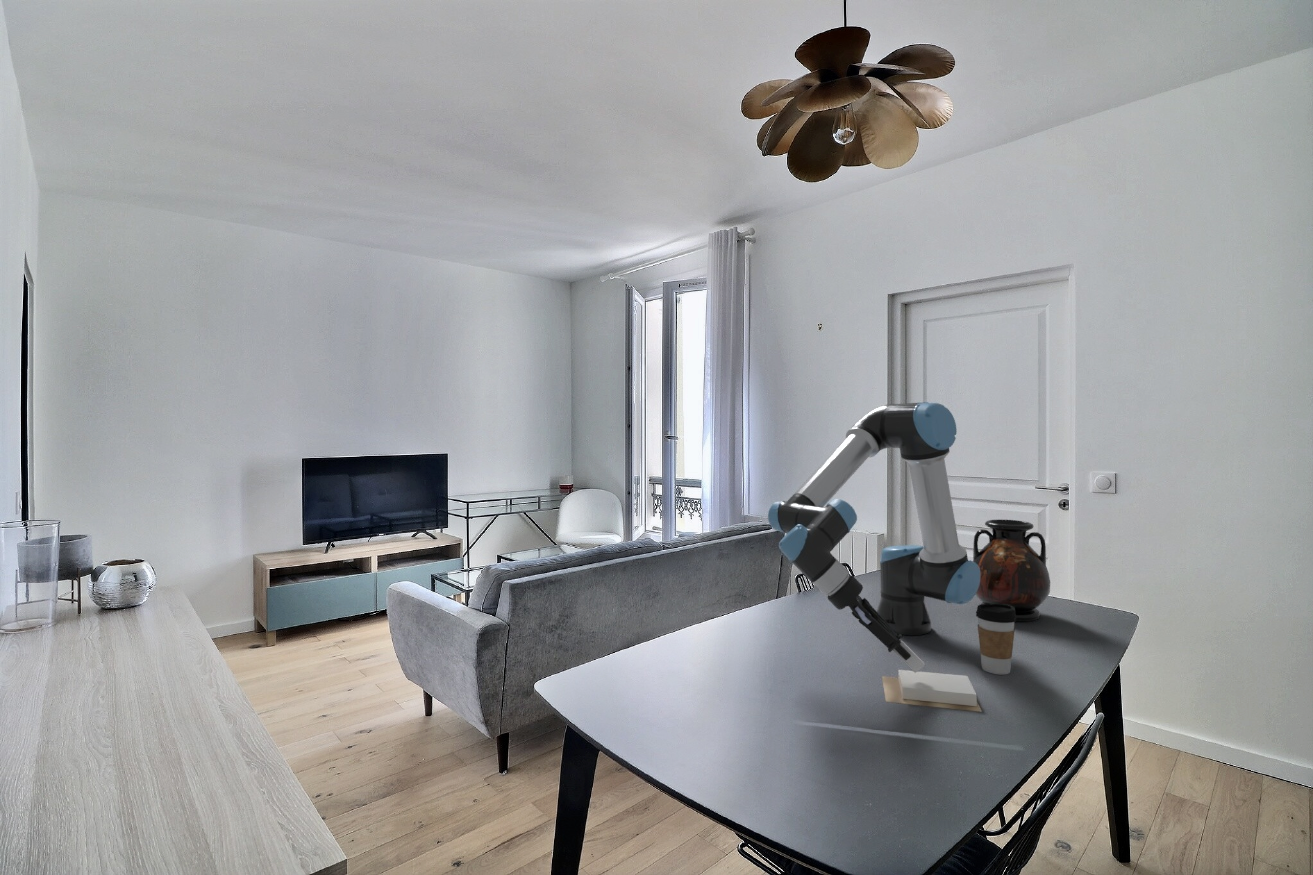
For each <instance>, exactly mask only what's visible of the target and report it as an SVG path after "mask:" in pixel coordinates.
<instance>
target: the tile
mask: <svg viewBox="0 0 1313 875" xmlns="http://www.w3.org/2000/svg"><path fill="white" fill-rule="evenodd" d="M897 672H898V677H897V678H898V680H899V685H900V690H901V694H902V699H910V700H920V701H929V702H939V703H949V704H959V705H968V706H977V702H978V699H977V695H978V694H977V693H976V690H975V688H974V687H973V684H972V682H971V681H970V679H969V676H968V675H962V674H950V673H938V672H928V671H920V670H918V671H917V672H916V673H915V672H914V671H913V670H908V669H907V670H906V669H898V671H897Z"/></svg>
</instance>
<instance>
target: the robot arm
mask: <svg viewBox="0 0 1313 875" xmlns="http://www.w3.org/2000/svg"><path fill="white" fill-rule="evenodd" d="M955 420H956V419H955V417H954V415H953V414H952V412H951V411H950V409H949V408H948V407H946V406H945V405H944V404H941V403H938V402H927V401H926V402H925V401H923V402H911V403H910V402H908V403H907V402H906V403H905V402H904V403H888V404H884V405H881V406H879V407H877V408H876V407H875V408H874V409H873V410H871V411H870V412H868V413H867V414H865V415H864V416H861V418H859V420H857V421H856V422H855V423H854V424H853V425H852V426H851V427H850V428H849V429H848V430H847V431H846V434H845V439H844V440H843V441H842V442H841V443H840V444H839V445H838V446H837V447H836V449H834V451H833V452H832V453H831V454H830V455H828V457H827V458H826V459H825V460H824V462H822V463H821V465H820V466H818V468H817V469H816V470H815V471H814V472H813V473H812V474H811V475H810V476H809V477H808V479H807V480H806V481H805V482H804V483H803V484H802V485H800V487H798V489H797V490H796V491H795V492H794V494H792V496H790V497H789V498H788V500H782V501H775V502H774V503H773V504H772V505H771V506H770V508H769V510H768V512H767V518H768V523H769V525H770V527H771V528H772V529H773V530H775V531H778V532H780V533H784V534H785V536H783V537H782V539H780V541H779V543H778V547H779V550H780V551H781V552H782V554H783V555H784V556H785V557H786V558H787V559H788V561H789V562H790V563H792V564H793V565H794V566H795V567H796V568H797V570H799V571H800V572H801V573H802V574H803V575H804V576H805V577H806V578H807V580H809V581H810V582H811V583H812V584H813V589H814V590H819V591H820V593H822V594H823V596H827V600H828V601H829V602H830V603H831V604H832V605H833V606H834V607H835V608H836V609H837V610H844V609H845V608H847V607H849V609H850V610H851V611H852V612H851V614H852V616H853V617H855V619H857V620H858V622H859V624H861V625H862V626H863V627H865V629H867V630H868V631H869V632H870V633H871V634H872V635H873V636H875V637H876V638H877V640H879V641H880V642H881V643H882V644H883V645H884V646H885V647H886V648H887V651H888V653H892V651H893V652H894V653H895V655H897V656H898V657H899V658H900V660H902V662H904V663H905V664H906V665H907V666H908V667H909V668H910V669H911V671H914V672H915V673H916V672H917V671H920V670H921V669H922V668H923V667H925V666H926V665H925V661H923V660H922V659H921V658H920V657H919V656H918V654H916V653H915V652H914V651H913V650H912V649H911V648H910V647H909V646H908V645H907V644H906V643H905V642H904V641H903V640H902V638H904V637H903V636H920V635H921V636H922V635H926V634H928V633H931V632H932V621H931V618H930V614H929V612H928V609H927V606H926V602H925V597H926V598H928V599H929V598H930V599H933V600H939V601H942V602H946V603H947V604H956V605H966V604H968V603H970V601H971V600H973V599H974V597H976V595H975V594H976V592H977V590H978V587H979V584H980V568H979V566H978V565H977V564H976V563H975V562H973V560H969V558H968V553H967V552H968V551H967V549H966V548H965V547H964V546H962V545H961V544H960V543H959V536H958V533H957V525H956V520H955V513H954V509H953V502H952V497H951V496H952V495H951V491H950V484H949V479H948V478H949V477H948V473H947V467H946V466H947V465H946V462H945V458H947V456H948V455H949V454H950V448H951V447H952V446H953V444H954V443H955V441H956V439H957V438H956V435H957V424H956V421H955ZM890 448H892V449H893V448H895V449H899V452H900V458H901V460H903V461H905V463H907V464H908V467H909V471H910V479H911V482H912V488H913V494H914V500H915V505H916V511H917V512H916V513H917V516H918V517H917V518H918V521H919V529H920V534H921V538H922V545H919V544H918V545H917V544H916V545H914V544H910V545H909V544H906V545H903V544H902V545H894V546H893V545H892V546H886V547H883V549H882V550H881V551H880V561H879V564H880V565H879V566H880V567H879V568H880V600H879V602H878V606H877V608H876V609H875V608H874V607H873V606H872V605H871V603H870V601H869V600H868V599H867V598H866V597H864V598H862V597H861V596H860V594H861V593H862V591H863V589H864V587H863V586H864V585H862V583H861V582H859V580H858V579H857V578H856V577H855V576H854V575H852V574H849V573H850V572H849V570H848V569H847V568H846V567H845V565H843V564H842V562H840V561H839V560H838V559H837V558H836V557H835V556H834V555H833V554H832V553H831V552H832V551H833V550H834V549H835V547H837V545H838V544H839V543H840V542H841V541H842V540H843V539H844V538H845V536H847V535H848V534H849V533H850V531H851V530H852V528H853V527H854V525H855V524H856V523H857V520H858V516H857V513H856V511H855V509H854V507H853V506H851V504H850V503H848V502H847V501H845V500H843V499H840V498H834V496H835V495H836V494H837V493H838V492H839V491H840V489H841V488H842V487H843V486H844V485H845V484H846V483H847V482H848V480H850V478H851V477H852V476H853V475H854V474H855V473H856V472H857V471H858V470H859V468H860V467H861V466H862V465H863V464H864V463H865V462H866V461H867V460H868V458H873V457H875V456H876V455H878V453H879V452H881V451H882V450H885V449H890ZM832 498H834V499H833V500H831V499H832Z"/></svg>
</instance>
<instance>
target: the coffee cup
mask: <svg viewBox="0 0 1313 875" xmlns="http://www.w3.org/2000/svg"><path fill="white" fill-rule="evenodd" d="M976 608H977V609H976V612H975V616H976V618H977V621H978V623H977V631H978V641H979V642H978V643H979V652H980V660H981V669H982V670H983V671H985V672H986V673H990V674H994V675H1001V676H1002V675H1008V674H1010V673H1011V670H1012V669H1011V667H1012V666H1011V665H1012V657H1013V648H1014V638H1015V630H1016V628H1015V622H1017V621H1016V618H1017V617H1016V613H1015V607H1013V606H1011V605H1007V604H981V605H979V604H978V605H977V607H976Z"/></svg>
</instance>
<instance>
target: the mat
mask: <svg viewBox="0 0 1313 875" xmlns="http://www.w3.org/2000/svg"><path fill="white" fill-rule="evenodd" d="M881 679H882V680H881V681H882V686H883V690H884V691H883V692H884V699H885V702H886V703H891V704H893V703H895V704H902V705H903V704H904V705H911V706H912V705H914V706H921V707H931V708H939V709H940V708H942V709H952V710H960V711H962V710H963V711H969V712H971V711H972V712H980V713H982V712H983V711H982V709H981V706H980V705H979V703H978V701H977V706H968V705H959V704H949V703H939V702H929V701H920V700H910V699H902V694H901V690H900V685H899V680H898V677H894V676H884V675H881Z"/></svg>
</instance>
